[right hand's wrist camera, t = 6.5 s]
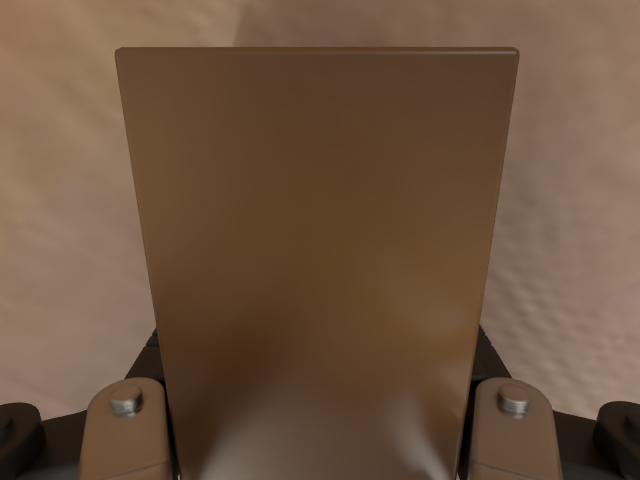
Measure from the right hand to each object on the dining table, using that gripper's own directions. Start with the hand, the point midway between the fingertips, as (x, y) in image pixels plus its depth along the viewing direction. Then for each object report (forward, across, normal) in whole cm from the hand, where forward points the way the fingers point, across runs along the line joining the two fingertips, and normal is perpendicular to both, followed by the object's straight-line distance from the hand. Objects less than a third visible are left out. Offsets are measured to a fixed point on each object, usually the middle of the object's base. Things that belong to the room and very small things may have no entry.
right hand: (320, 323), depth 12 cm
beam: (+3, 0, -30) cm, 30 cm away
